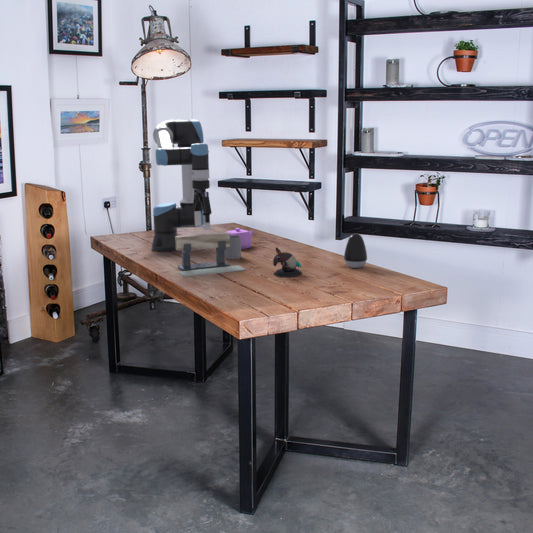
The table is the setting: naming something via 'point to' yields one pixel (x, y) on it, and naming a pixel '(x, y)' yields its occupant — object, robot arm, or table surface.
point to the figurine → (286, 264)
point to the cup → (233, 248)
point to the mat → (211, 271)
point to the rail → (202, 240)
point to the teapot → (243, 237)
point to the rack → (188, 266)
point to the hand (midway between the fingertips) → (202, 227)
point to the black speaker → (355, 252)
